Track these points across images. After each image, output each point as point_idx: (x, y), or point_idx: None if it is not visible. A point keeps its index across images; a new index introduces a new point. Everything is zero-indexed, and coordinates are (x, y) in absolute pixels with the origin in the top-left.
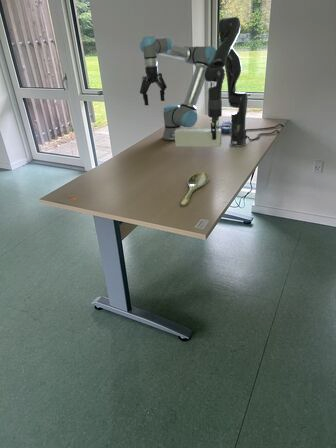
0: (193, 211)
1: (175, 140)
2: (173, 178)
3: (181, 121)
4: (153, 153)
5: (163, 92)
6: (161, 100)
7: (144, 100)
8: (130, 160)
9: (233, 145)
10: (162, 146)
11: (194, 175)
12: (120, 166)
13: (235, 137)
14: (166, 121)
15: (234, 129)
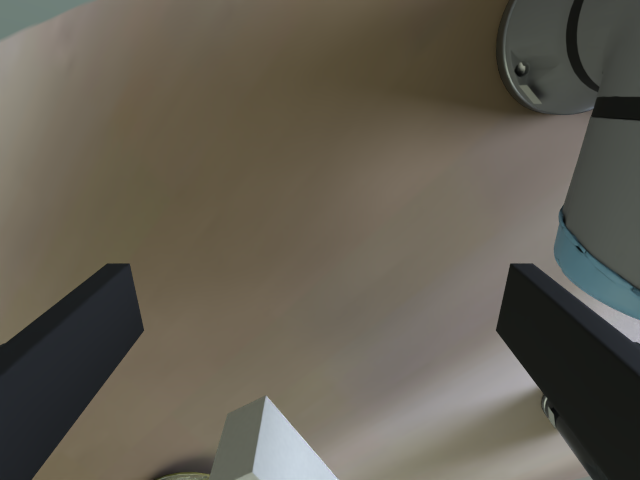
0: None
1: (220, 442)
2: (150, 420)
3: (564, 233)
4: (270, 162)
5: (616, 463)
6: (509, 283)
7: (51, 315)
8: (115, 137)
9: (544, 402)
10: (388, 112)
11: (195, 475)
12: (32, 164)
13: (567, 440)
14: (612, 5)
15: (594, 472)
